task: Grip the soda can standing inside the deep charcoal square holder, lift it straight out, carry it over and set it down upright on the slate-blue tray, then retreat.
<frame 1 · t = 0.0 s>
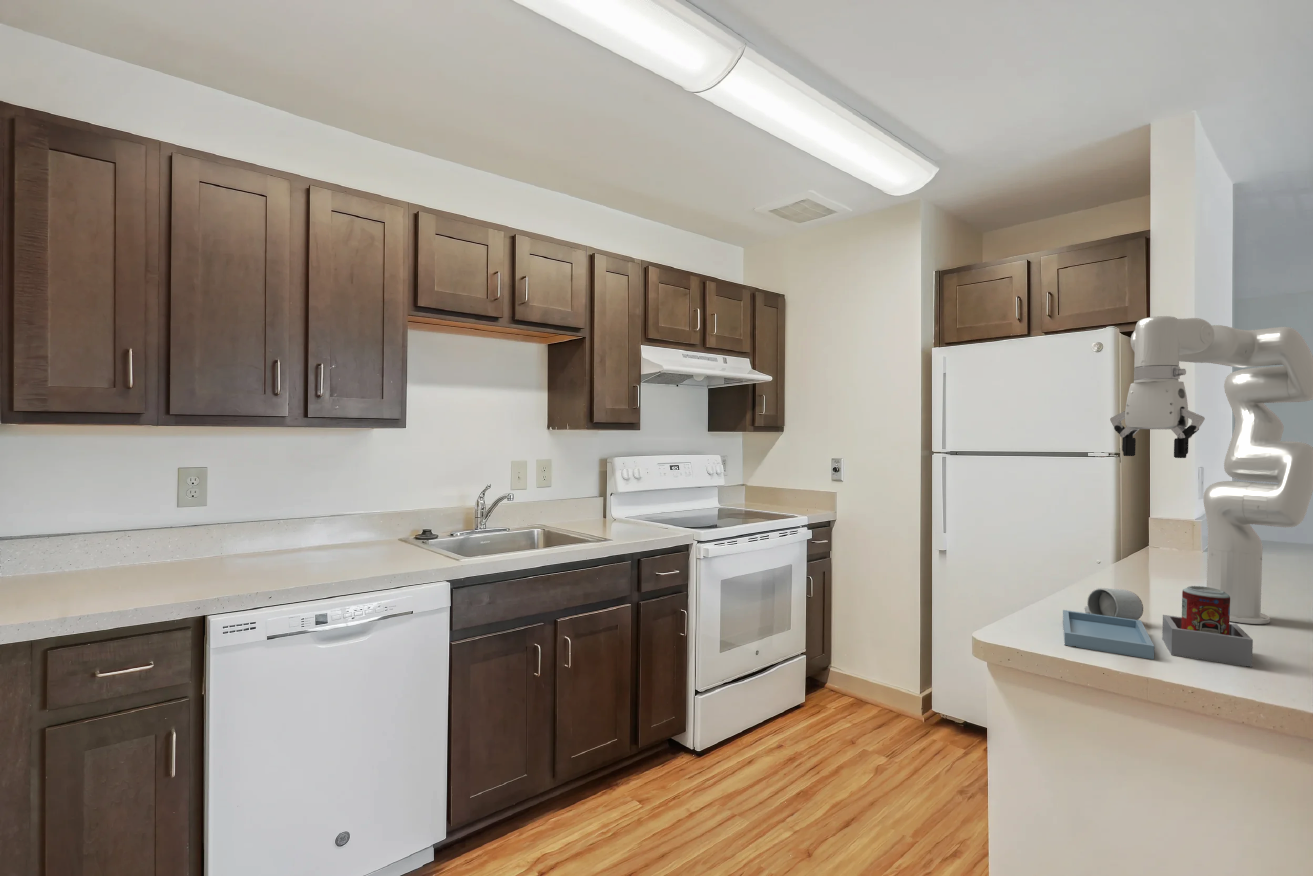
hand: (1153, 456, 137), 37 cm above the worktop, tool pointing down, fingers open, 9 cm apart
tray: (1104, 638, 132), on the worktop
can holder: (1204, 652, 125), on the worktop
ceramic mug: (1108, 621, 146), on the worktop
soda can: (1204, 653, 125), resting in can holder
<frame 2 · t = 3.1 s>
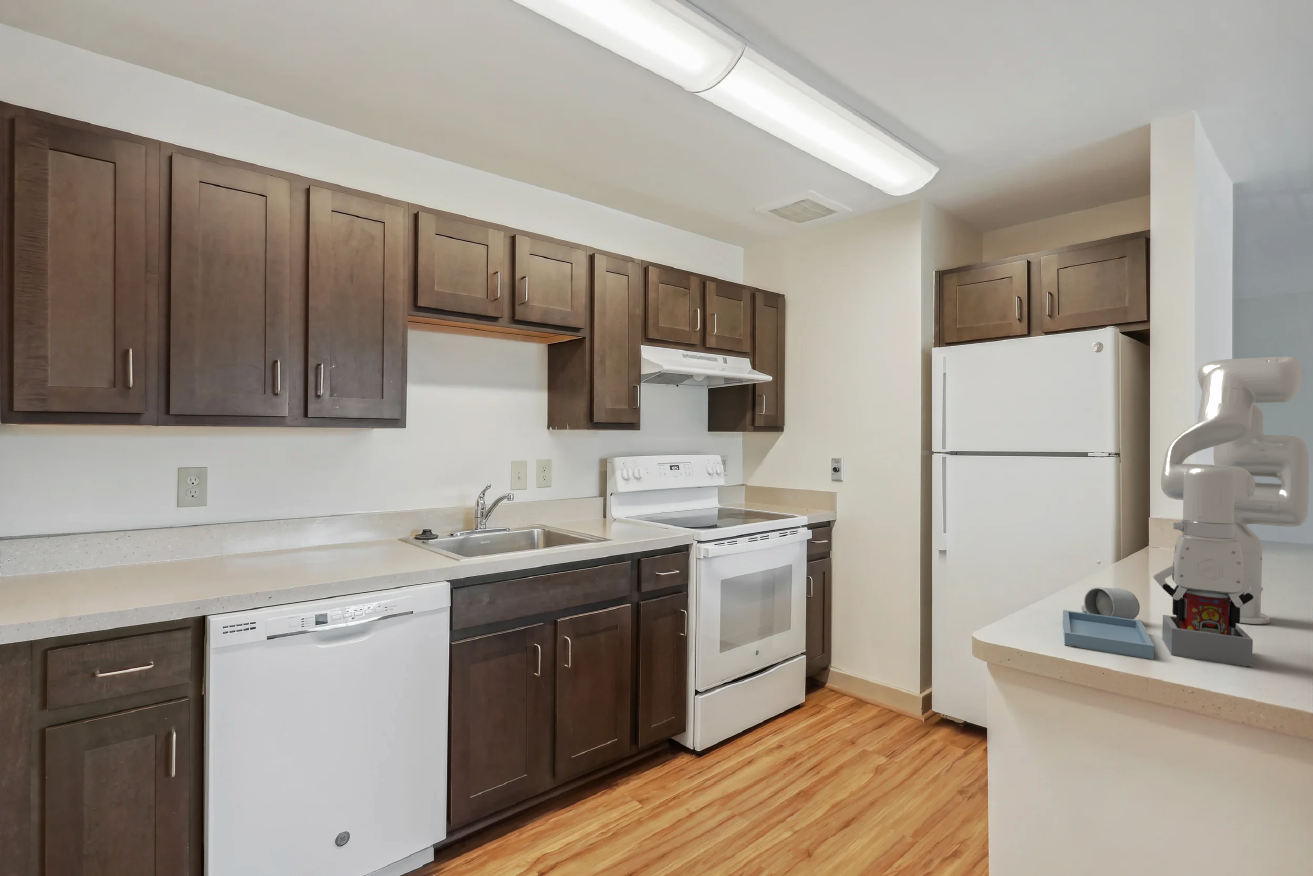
hand: (1205, 622, 125), 6 cm above the worktop, tool pointing down, fingers closed on soda can, 7 cm apart
soda can: (1204, 653, 125), resting in can holder, touching gripper
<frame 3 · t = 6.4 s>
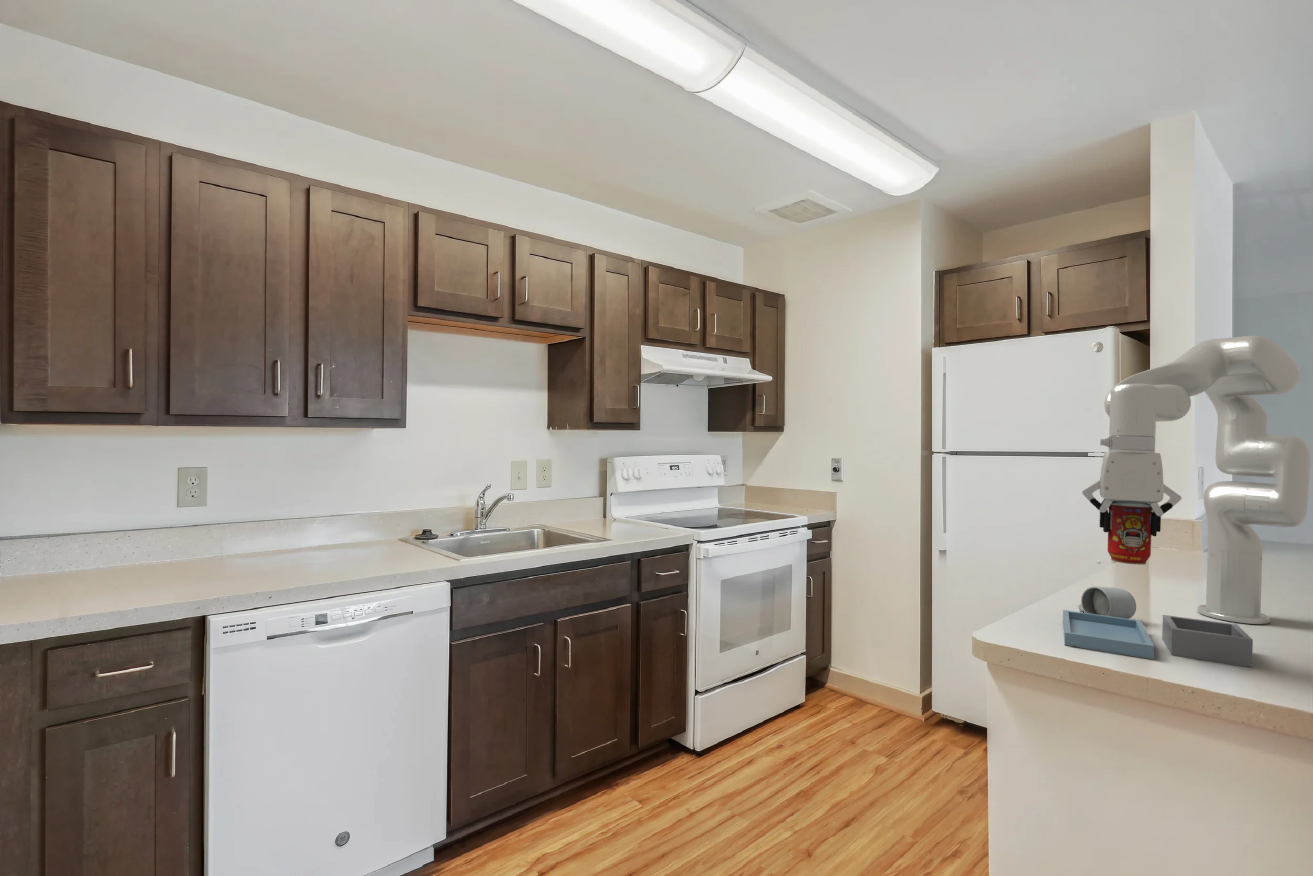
hand: (1129, 532, 130), 22 cm above the worktop, tool pointing down, fingers closed on soda can, 7 cm apart
soda can: (1128, 562, 130), point 16 cm above the worktop, touching gripper
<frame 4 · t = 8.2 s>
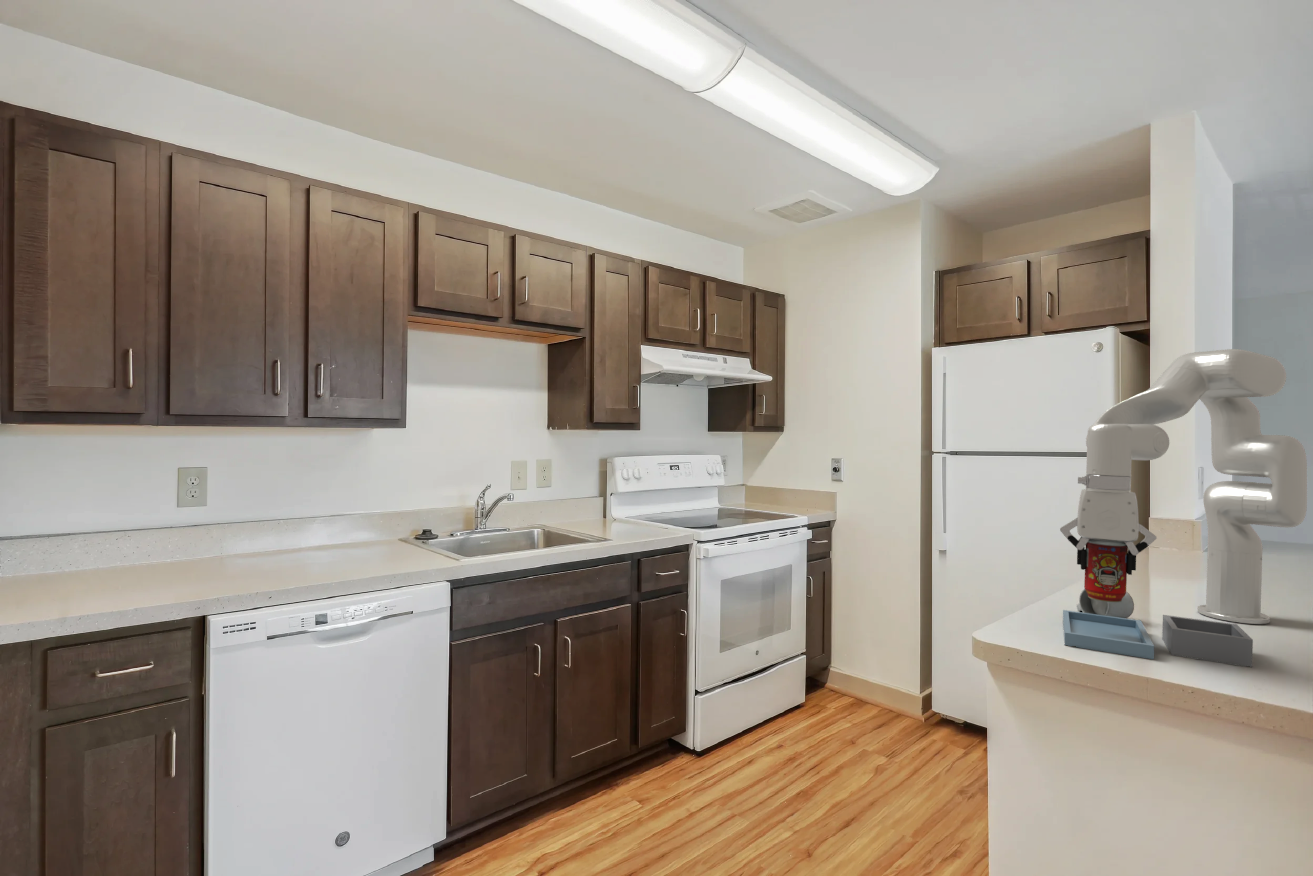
hand: (1105, 570, 132), 14 cm above the worktop, tool pointing down, fingers closed on soda can, 7 cm apart
soda can: (1104, 599, 132), point 8 cm above the worktop, touching gripper
when the fingers open (8 cm above the worktop, at t = 9.8 s): soda can drops 1 cm, resting on tray.
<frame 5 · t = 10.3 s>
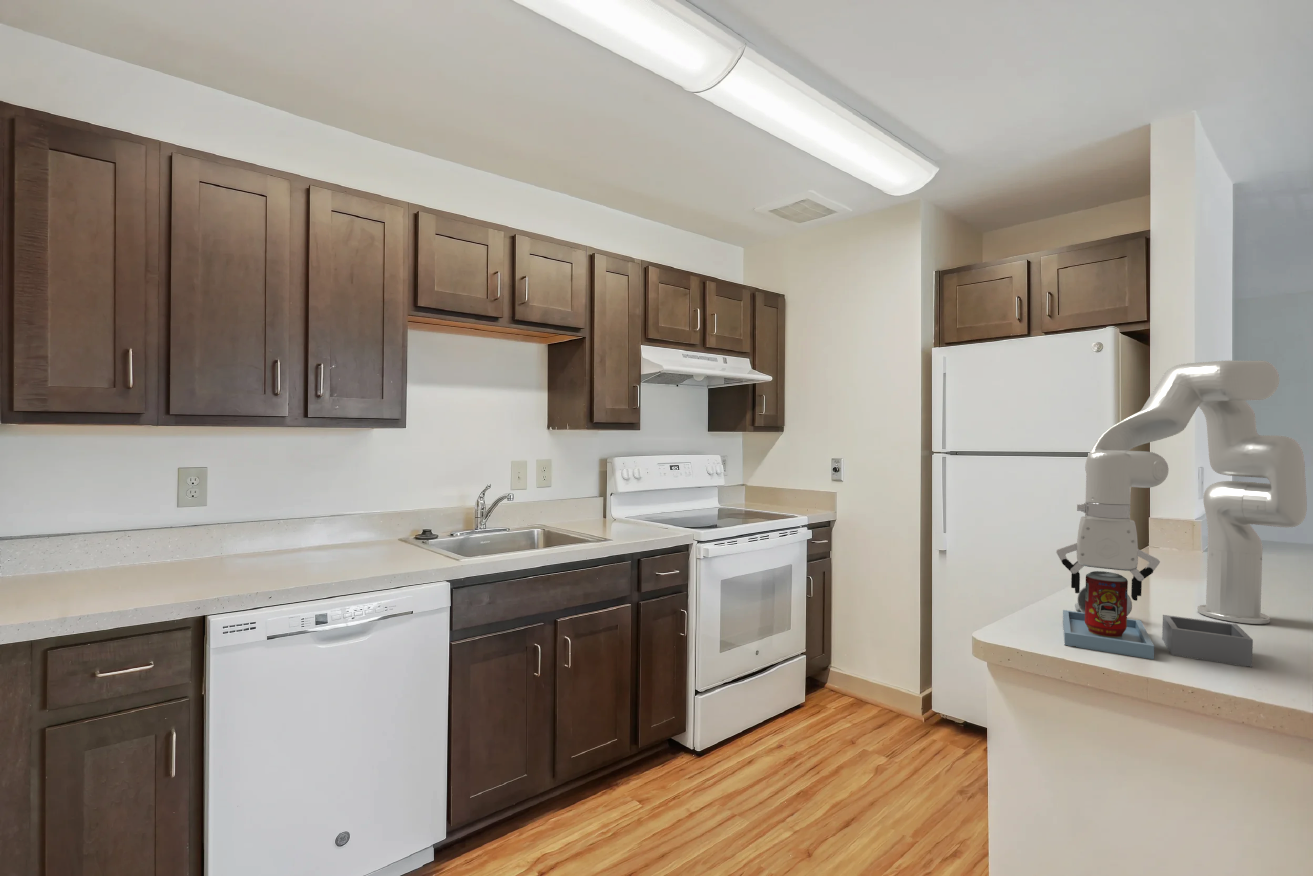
hand: (1105, 595, 132), 9 cm above the worktop, tool pointing down, fingers open, 9 cm apart
soda can: (1105, 634, 132), point 1 cm above the worktop, touching tray
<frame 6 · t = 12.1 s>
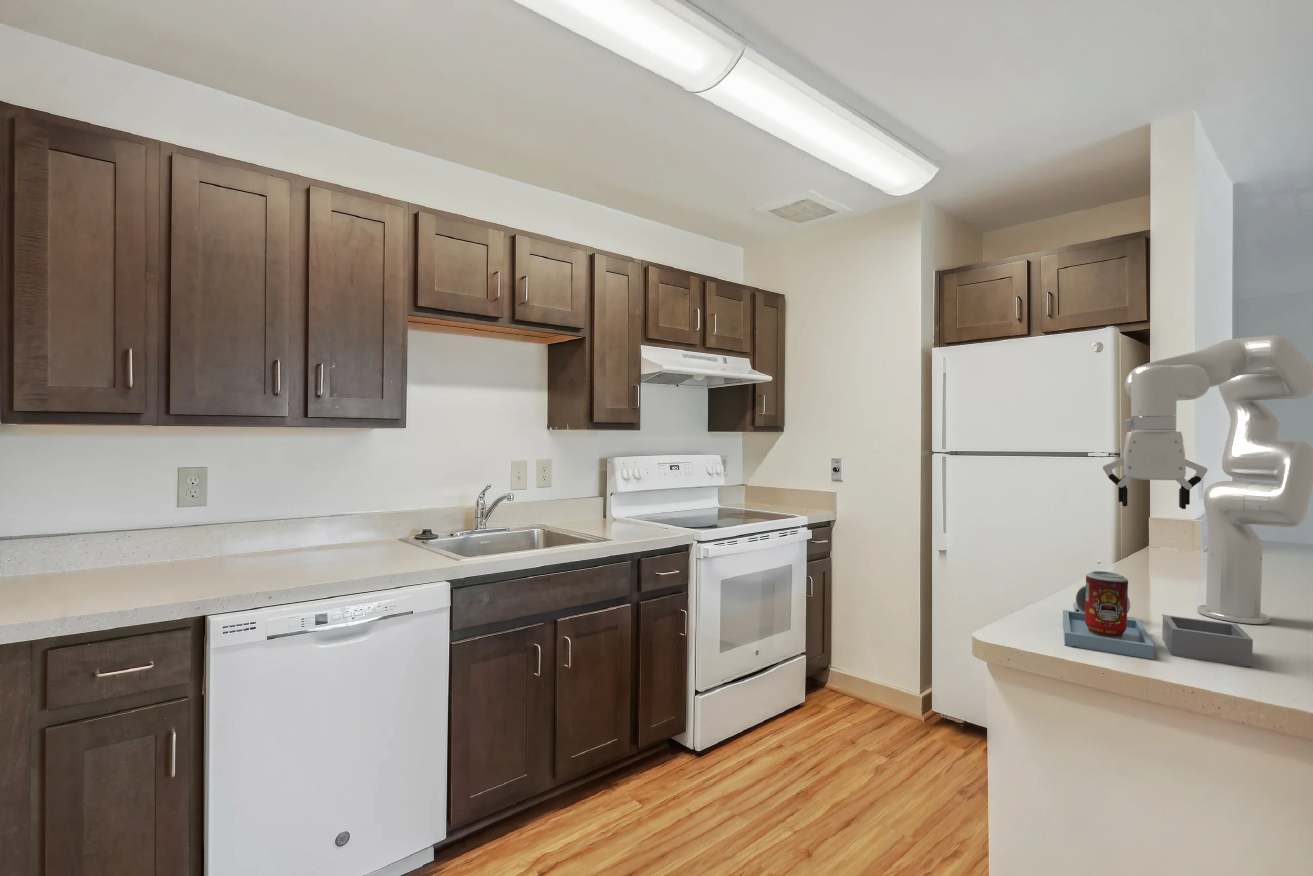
hand: (1153, 506, 135), 27 cm above the worktop, tool pointing down, fingers open, 9 cm apart
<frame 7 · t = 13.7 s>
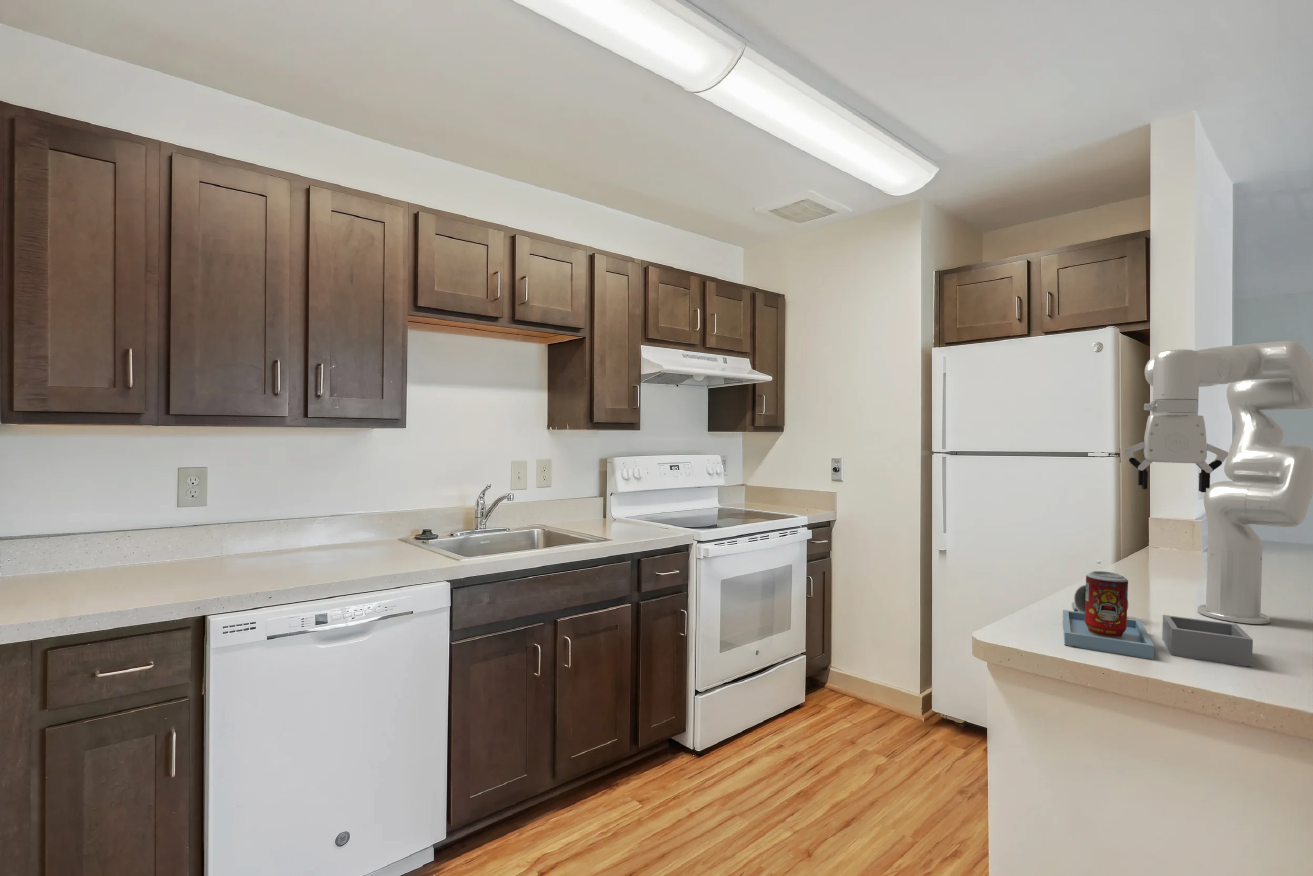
hand: (1172, 490, 136), 30 cm above the worktop, tool pointing down, fingers open, 9 cm apart
at the end: soda can inside the target area on the tray (0.3 cm from its centre), point 0.8 cm above the tray's base; soda can tilted 0°; the gripper is holding nothing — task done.
